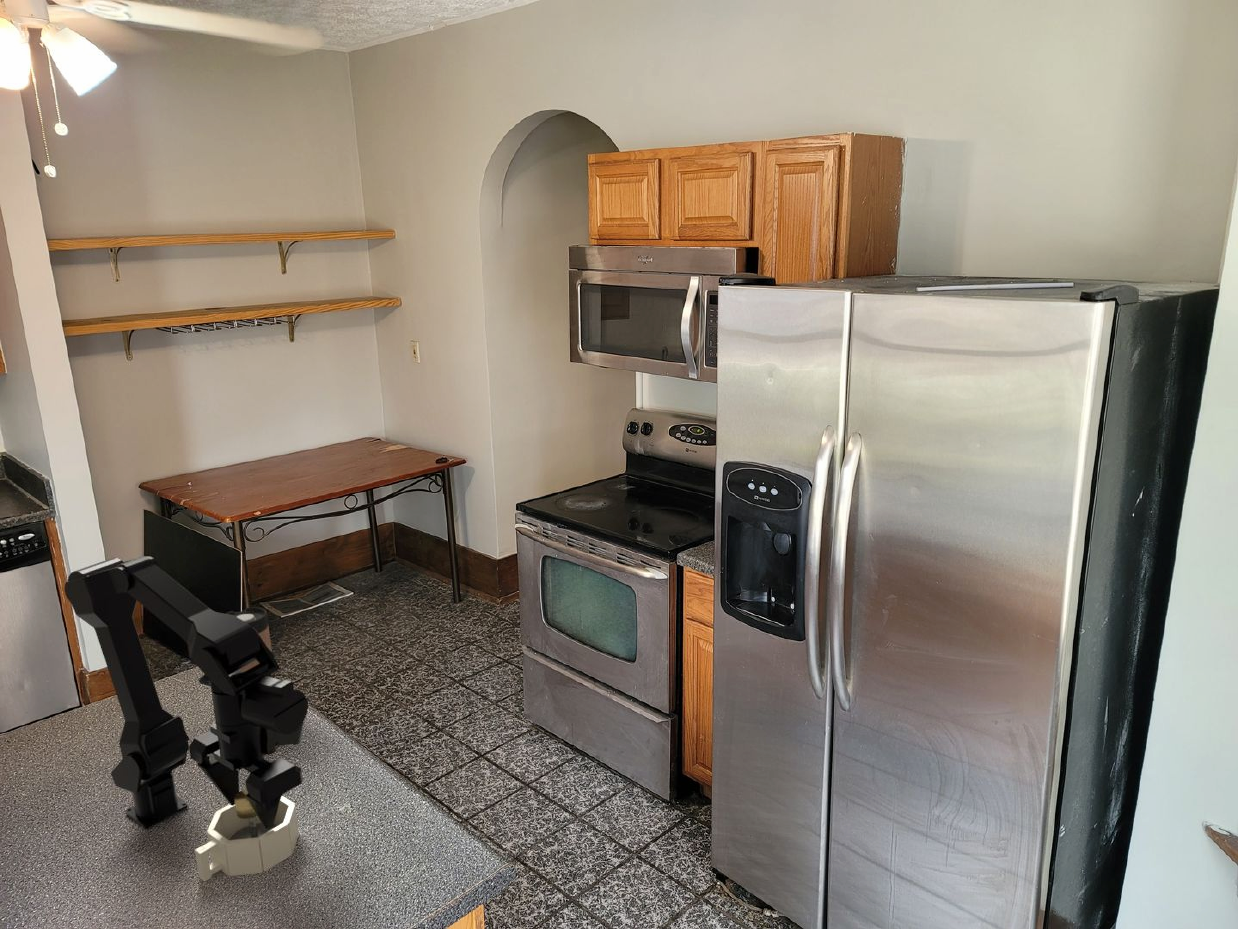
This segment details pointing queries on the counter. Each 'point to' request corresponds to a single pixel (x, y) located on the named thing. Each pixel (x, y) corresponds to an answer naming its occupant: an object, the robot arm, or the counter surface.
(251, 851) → the cream octagonal ring
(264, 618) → the travel mug
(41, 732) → the counter surface
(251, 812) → the plunger
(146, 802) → the robot arm
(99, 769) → the counter surface
